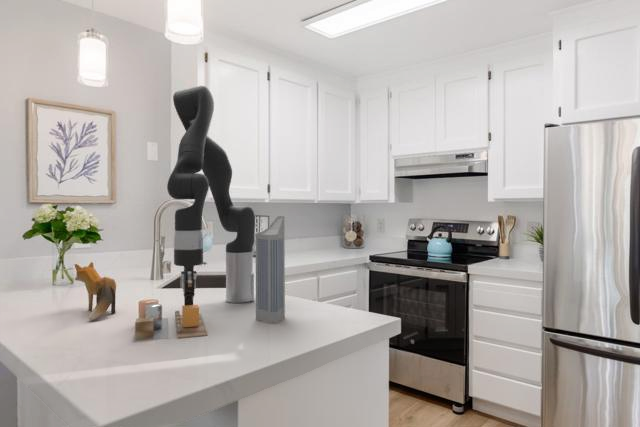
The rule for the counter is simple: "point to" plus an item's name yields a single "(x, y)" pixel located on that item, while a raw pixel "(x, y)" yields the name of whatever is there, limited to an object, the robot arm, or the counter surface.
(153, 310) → the metal canister
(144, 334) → the oak block
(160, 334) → the slate tray
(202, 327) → the rail
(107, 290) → the toy
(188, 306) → the orange block
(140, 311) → the salmon domed cylinder
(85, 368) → the counter surface
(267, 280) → the building model
